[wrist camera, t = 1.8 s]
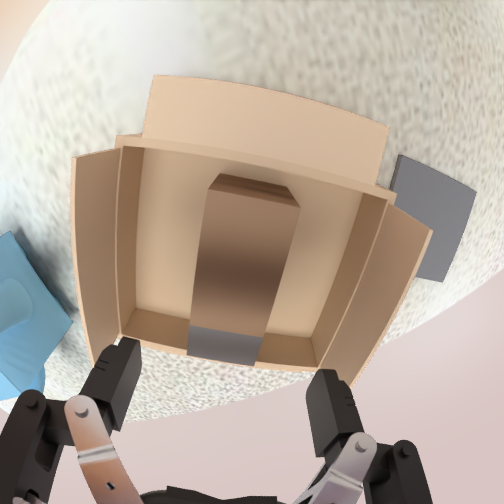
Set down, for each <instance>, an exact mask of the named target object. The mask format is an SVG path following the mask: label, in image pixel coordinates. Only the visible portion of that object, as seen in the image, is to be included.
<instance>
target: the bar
mask: <svg viewBox="0 0 504 504" xmlns="http://www.w3.org/2000/svg"><path fill="white" fill-rule="evenodd" d="M300 210H301V207H300V206H299V204H298V203H297V201H296V200H295V198H294V197H293V195H292V194H291V192H290V191H289V189H288V188H287V187H286V186H281V185H277V184H272V183H267V182H263V181H258V180H253V179H248V178H243V177H238V176H232V175H227V174H221V173H219V175H218V176H217V177H216V179H215V180H214V181H213V183H212V184H211V185H210V187H209V188H208V189H207V195H206V201H205V207H204V214H203V220H202V227H201V233H200V240H199V247H198V255H197V262H196V270H195V278H194V286H193V294H192V303H191V313H190V322H189V333H188V344H187V355H188V356H193V357H198V358H203V359H209V360H215V361H221V362H227V363H233V364H240V365H247V366H254V365H255V362H256V359H257V356H258V353H259V349H260V346H261V343H262V340H263V337H264V334H265V331H266V327H267V324H268V321H269V318H270V314H271V311H272V308H273V305H274V301H275V298H276V295H277V291H278V288H279V285H280V281H281V278H282V274H283V271H284V268H285V264H286V261H287V257H288V254H289V250H290V247H291V243H292V239H293V236H294V232H295V229H296V225H297V221H298V218H299V214H300Z"/></svg>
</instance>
